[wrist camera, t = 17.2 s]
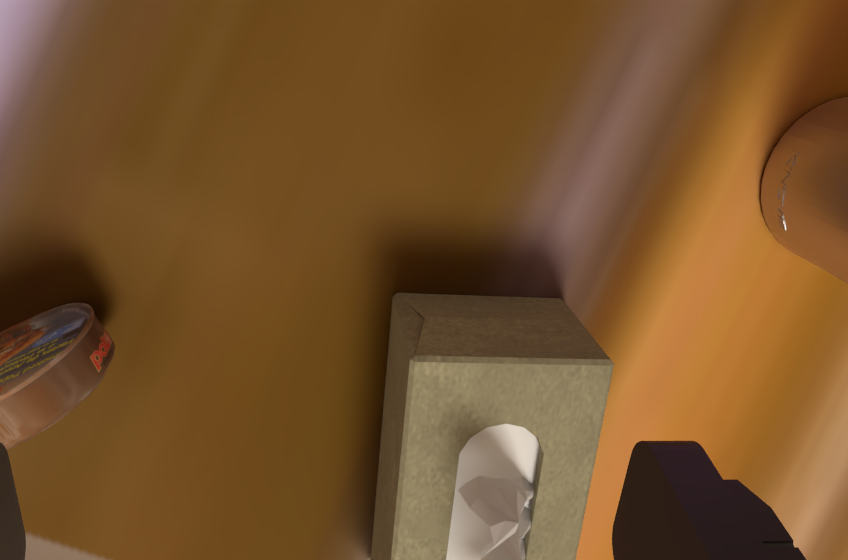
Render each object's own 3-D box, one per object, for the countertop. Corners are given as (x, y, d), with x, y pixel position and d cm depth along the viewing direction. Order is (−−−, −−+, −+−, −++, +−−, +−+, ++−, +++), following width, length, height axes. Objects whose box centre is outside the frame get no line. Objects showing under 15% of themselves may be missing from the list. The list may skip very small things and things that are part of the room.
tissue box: (393, 286, 42) (438, 447, 28) (564, 292, 44) (693, 448, 29) (369, 565, 49) (396, 815, 34) (519, 562, 50) (606, 799, 36)
